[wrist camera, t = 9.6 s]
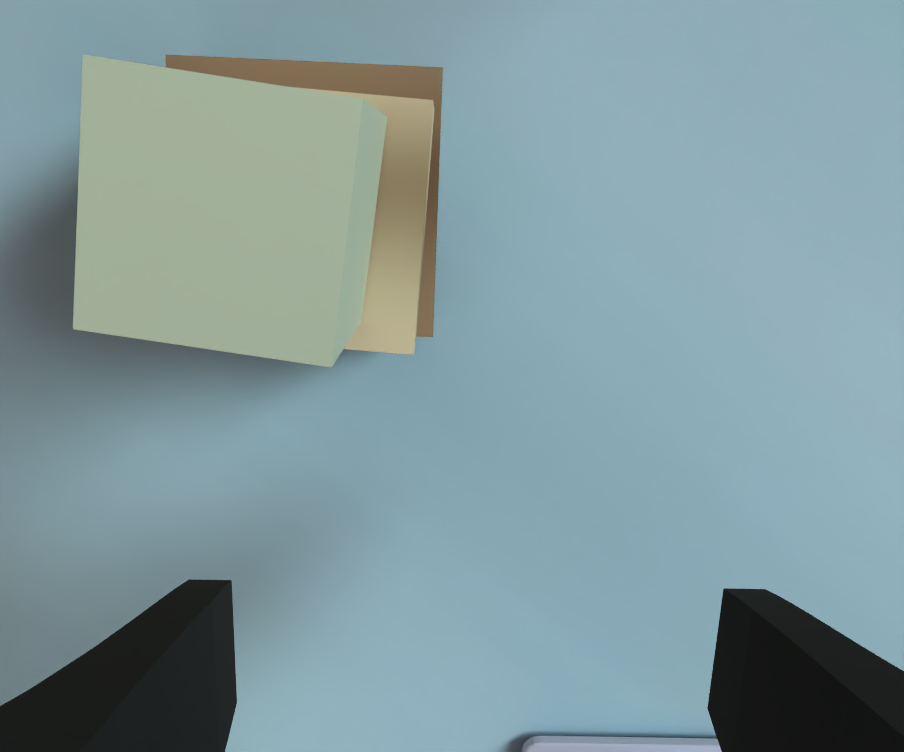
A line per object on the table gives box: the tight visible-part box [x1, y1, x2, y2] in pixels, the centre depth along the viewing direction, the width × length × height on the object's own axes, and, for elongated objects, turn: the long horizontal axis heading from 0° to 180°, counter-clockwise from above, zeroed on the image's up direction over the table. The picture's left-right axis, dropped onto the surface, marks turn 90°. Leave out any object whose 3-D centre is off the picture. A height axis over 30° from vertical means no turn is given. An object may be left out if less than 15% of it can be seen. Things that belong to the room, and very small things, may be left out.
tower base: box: [166, 55, 443, 337], centre depth 20 cm, size 6×6×2 cm
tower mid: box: [293, 87, 434, 355], centre depth 17 cm, size 5×5×2 cm
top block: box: [73, 54, 387, 367], centre depth 14 cm, size 4×4×4 cm
